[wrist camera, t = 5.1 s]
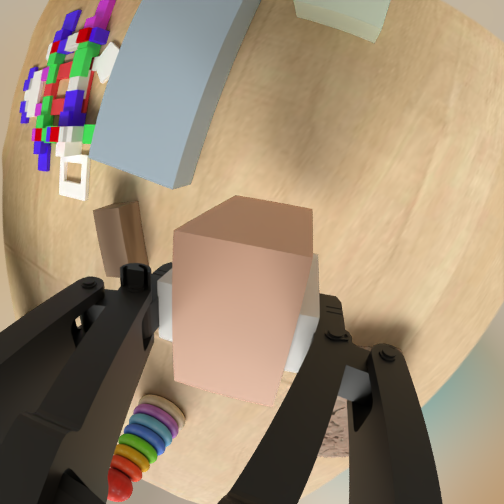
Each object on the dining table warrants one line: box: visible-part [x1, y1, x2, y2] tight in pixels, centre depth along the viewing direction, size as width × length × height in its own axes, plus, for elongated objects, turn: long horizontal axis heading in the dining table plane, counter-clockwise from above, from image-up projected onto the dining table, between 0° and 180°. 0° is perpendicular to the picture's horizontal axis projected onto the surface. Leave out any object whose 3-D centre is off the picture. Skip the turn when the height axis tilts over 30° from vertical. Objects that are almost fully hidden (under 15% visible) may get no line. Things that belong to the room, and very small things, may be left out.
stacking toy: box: [107, 395, 185, 502], centre depth 29 cm, size 8×8×19 cm
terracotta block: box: [172, 195, 313, 407], centre depth 14 cm, size 4×7×8 cm, turn 172°
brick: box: [318, 346, 402, 457], centre depth 27 cm, size 17×8×5 cm, turn 1°
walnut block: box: [93, 201, 149, 278], centre depth 27 cm, size 4×7×4 cm, turn 4°
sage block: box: [293, 0, 391, 43], centre depth 15 cm, size 4×7×4 cm, turn 70°
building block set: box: [20, 0, 120, 201], centre depth 23 cm, size 25×20×4 cm
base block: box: [88, 0, 261, 189], centre depth 20 cm, size 10×20×4 cm, turn 160°
